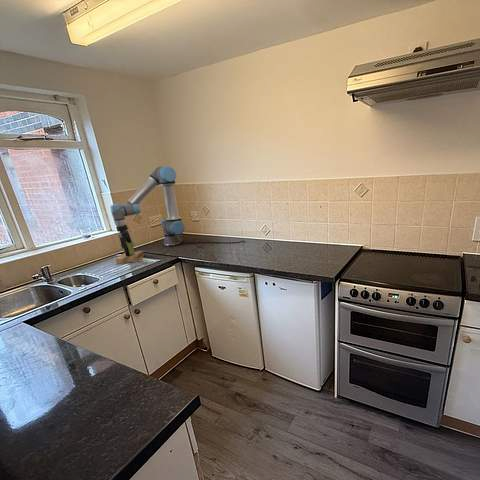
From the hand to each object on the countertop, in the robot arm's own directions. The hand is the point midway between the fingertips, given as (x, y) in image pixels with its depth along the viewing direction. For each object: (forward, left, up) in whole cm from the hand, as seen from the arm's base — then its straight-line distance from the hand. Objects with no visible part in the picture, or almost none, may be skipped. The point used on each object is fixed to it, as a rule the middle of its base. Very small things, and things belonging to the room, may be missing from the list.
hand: (130, 254), depth 231 cm
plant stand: (0, 0, -4) cm, 4 cm away
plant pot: (0, 0, 0) cm, 1 cm away
